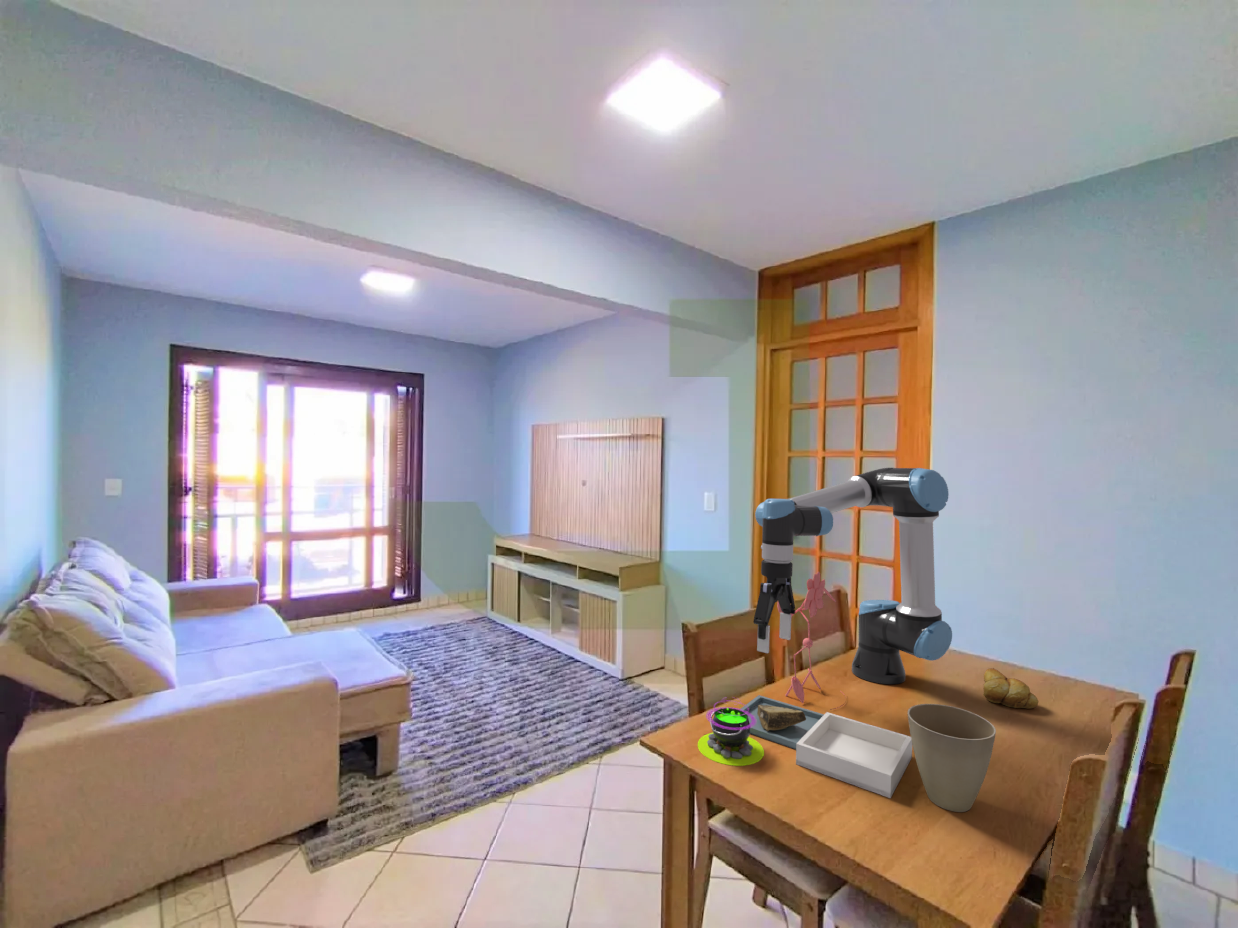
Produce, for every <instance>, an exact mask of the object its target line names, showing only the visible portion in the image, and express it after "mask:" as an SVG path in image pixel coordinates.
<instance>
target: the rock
mask: <svg viewBox="0 0 1238 928" xmlns="http://www.w3.org/2000/svg"><path fill="white" fill-rule="evenodd" d="M757 714H758V716H759V720H760V722H761V725H762V727H763V728H764V729H766V731H769V730H781V729H785V728H787V727H788V726H791V725H796V724H798V723H800V722H803V721H805V720H806V717H805V714H804V712H803V711H799V710H793V709H789V708H783V707H776V706H769V705H758V712H757Z"/></svg>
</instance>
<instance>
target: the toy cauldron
mask: <svg viewBox="0 0 1238 928" xmlns="http://www.w3.org/2000/svg"><path fill="white" fill-rule="evenodd" d="M733 698H734V699H735V700H736V699H737V700H738V701H739V702H740V704H741V705H743V706H746V704H744V703H742V701H741V700H740V699H739V698H738V697H736V698H735V697H733ZM723 699H724V701H723V703H724V704H726V702H730V700H727V699H726V696H725V697H723ZM735 700H732V702H734V703H735ZM718 703H722V700H720V701H717V702H715V703H714V704H713V708H712V709H709V710H708V711H707V712H706V714H705V718H706V720H707V721H709V723H710V727H711V730H712V732H710V733H706V734H704V735H702V736H700V738H699V739H698V742H697V748H698V750H699V752H700V753H701V754H702V756H704V757H706V758H707V759H709V760H710V761H713V762H715V763H718V764H721V765H726V766H732V767H733V766H734V767H743V766H749V765H750V766H751V765H754V764H757V763H758V762H760V761H761V760H762V759H763V757H764V755H765V751H764V748H763V746H762V744H761V743H760V742H759V741H757V740H756V739H754V738H752V737H750V735H751V734H750V727H751V723H752V721H753V724H752V725H753V726H754V725H755V724H754V723H756V722H757V720H756V719H754V718H755V716H754V715H753V716H754V717H751V720H752V721H751V723H749V719H748V715H749V714H748V713H749V712H747V711H742V710H741V711H740V709H741V708H738V707H737V708H736V707H733V706H731V707H728V706H727V707H724V706H720V707H716V705H717V704H718ZM737 705H738V703H736V704H735V706H737ZM747 708H748V707H747ZM748 709H749V708H748ZM748 711H749V710H748ZM750 715H751V716H752V714H750ZM750 715H749V716H750ZM755 720H756V722H754V721H755Z"/></svg>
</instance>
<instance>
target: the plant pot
mask: <svg viewBox="0 0 1238 928" xmlns="http://www.w3.org/2000/svg"><path fill="white" fill-rule="evenodd" d="M907 719H908V720H907V721H908V726H909V727H908V728H909V733H910V737H911V740H912V751H913V753H914V757H915V761H916V765H917V768H918V771H919V775H920V778H921V781H922V784H923V787H924V789H925V792H926V794H927V798H928V799H929V800H930V801H931V802H932V803H933V804H935V805H936V806H938V807H940V808H942V809H944V810H947V811H949V812H956V813H964V812H967V811H970V810H971V809H972V807H973V804H974V803H975V801H976V799H977V797H978V796H979V795H978V794H980V793H979V792H980V790H981V788H982V785H983V784H984V781H985V778H986V774H987V771H988V768H989V765H990V761H991V758H992V753H993V749H994V743H995V741H996V740H995V738H996V734H997V730H996V727H995V725H994V724H992V723H991V722H990V721H988V720H987V719H986V718H984V717H982V716H980V715H979V714H976V713H974V712H972V711H969V710H967V709H963V708H960V707H956V706H950V705H946V704H939V703H938V704H937V703H920V704H915V705H912V706H910V707H909V708H908V710H907Z"/></svg>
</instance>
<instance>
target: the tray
mask: <svg viewBox="0 0 1238 928" xmlns="http://www.w3.org/2000/svg"><path fill="white" fill-rule="evenodd" d="M745 705H746V706H745ZM745 705H743V706H742V707H740V708H739V709H740V711H741V710H742V711H747V712H749V713H748V714H749V715H750V714H752V716H751V715H750V716H749V715H748V719H749V723H751V721H752V720H751V717H754V716H755V718H754V719H756V720H757V722H756V720H755V721H754V722H756V723H754V724H755V725H754V726H753V725H752V724H753V721H752V723H751V727H750V734H749V735H753V736H756V737H758V738H761V739H763V740H766V741H770V742H772V743H775V744H778V745H782V746H784V747H787V748H790V749H793V750H795V751H796V743H797V742H798V741H799V740H800V739H801V738H802V737H803V736H804V735H805V734H806V733H807V732H808V731H809V730H810V729H811V728H812V727H813V726H814V725H815V724H816V723H817V722H818V721H819V720H820V719H821V718H822V716H823V715H824V714H825V713H820V712H818V711H814V710H811V709H807V708H804V707H800V706H798V705H794V704H791V703H787V702H783V701H781V700H778V699H777V700H776V699H773V698H771V697H770V698H769V697H767V696H764V695H760V694H758V695H757V696H756V697H754V698H753V699H752V700H750V701H749V702H748V703H746V704H745ZM758 705H769V706H776V707H783V708H789V709H793V710H799V711H803V712H804V714H805V717H806V720H805V721H803V722H800V723H798V724H796V725H791V726H788V727H787V728H785V729H781V730H769V731H766V729H764V728H763V727H762V725H761V722H760V720H759V716H758V714H757V712H758ZM747 707H748V708H749V709H748V708H747ZM748 710H749V711H748ZM753 715H754V716H753Z"/></svg>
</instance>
